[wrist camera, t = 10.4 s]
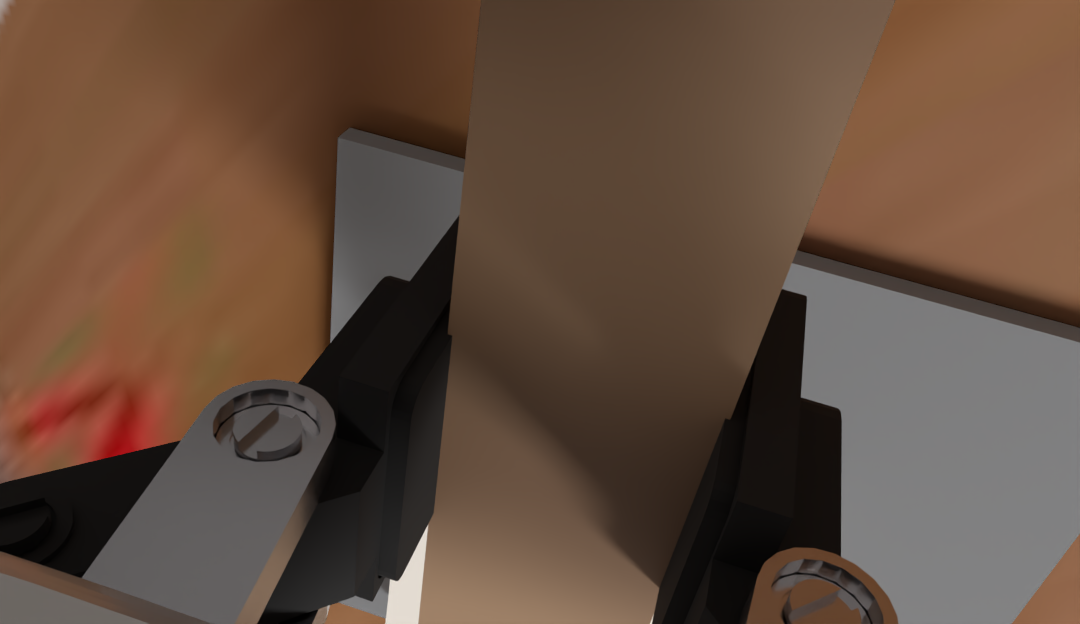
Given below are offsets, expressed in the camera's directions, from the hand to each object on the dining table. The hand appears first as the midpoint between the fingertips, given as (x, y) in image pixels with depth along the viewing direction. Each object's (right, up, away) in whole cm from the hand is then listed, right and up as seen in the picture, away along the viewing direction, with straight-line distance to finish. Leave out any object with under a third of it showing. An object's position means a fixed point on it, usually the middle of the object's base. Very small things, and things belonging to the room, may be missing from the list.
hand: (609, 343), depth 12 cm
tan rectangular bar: (0, 0, +1) cm, 1 cm away
